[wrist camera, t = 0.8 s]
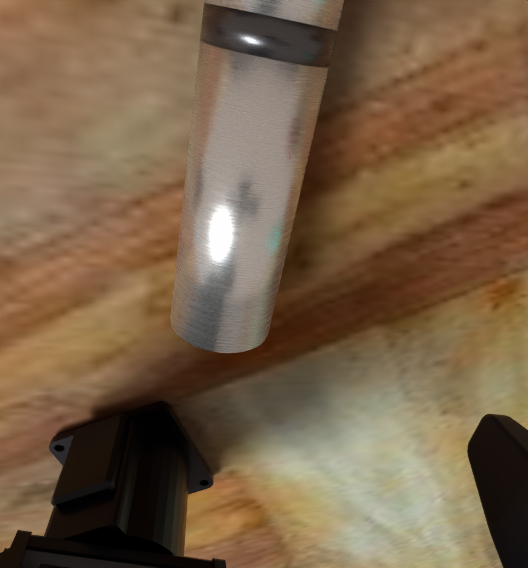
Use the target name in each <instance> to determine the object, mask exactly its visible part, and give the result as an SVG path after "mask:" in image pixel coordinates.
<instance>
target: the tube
mask: <svg viewBox="0 0 528 568" xmlns="http://www.w3.org/2000/svg"><path fill="white" fill-rule="evenodd" d="M343 3H344V0H204V10H203V19H202V28H201V37H200V47H199V56H198V65H197V75H196V84H195V93H194V103H193V112H192V121H191V131H190V140H189V149H188V159H187V168H186V177H185V187H184V196H183V205H182V214H181V224H180V233H179V242H178V252H177V261H176V270H175V280H174V289H173V298H172V308H171V317H170V322H171V326H172V328H173V330H174V331H175V332H176V334H177V335H178V336H179V337H181V338H182V339H183V340H185V341H186V342H188V343H189V344H191V345H193V346H196V347H198V348H201V349H204V350H208V351H213V352H220V353H237V352H244V351H248V350H251V349H253V348H255V347H258V346H259V345H260V344H262V343H263V342H264V341H265V339H266V338H267V336H268V333H269V328H270V324H271V320H272V315H273V311H274V306H275V302H276V298H277V293H278V289H279V284H280V280H281V276H282V271H283V267H284V262H285V258H286V254H287V249H288V245H289V241H290V236H291V232H292V227H293V223H294V219H295V214H296V210H297V205H298V201H299V197H300V192H301V188H302V183H303V179H304V175H305V170H306V166H307V161H308V157H309V153H310V148H311V144H312V140H313V135H314V131H315V126H316V122H317V118H318V113H319V109H320V104H321V100H322V96H323V91H324V87H325V82H326V78H327V74H328V69H329V65H330V60H331V56H332V52H333V47H334V43H335V38H336V34H337V30H338V25H339V21H340V17H341V12H342V8H343Z"/></svg>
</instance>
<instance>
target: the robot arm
mask: <svg viewBox="0 0 528 568" xmlns="http://www.w3.org/2000/svg"><path fill="white" fill-rule="evenodd" d="M158 411H161V412H164V413H158ZM61 445H62V446H61ZM49 449H50V451H51V452H52V454H53V455H54V456H55V457H56V458H57V459H58V460H59V462H60V463H61V464H62V465H63V468H62V471H61V474H60V476H59V479H58V482H57V485H56V488H55V491H54V494H53V497H52V500H51V504H52V505H53V506H54V508H53V511H52V514H51V517H50V520H49V523H48V526H47V529H46V532H45V535H44V536H38V535H31V534H32V532H28V531H21V530H18V531H17V533H16V536H15V538H14V540H13V542H12V545H11V547H10V548H8V549H7V548H5V549H4V551H3V552H2V553H0V568H226V562H225V560H222V559H215V558H213V559H212V560H206V559H199V558H192V557H185V556H184V545H185V530H186V514H187V499H188V494H191V493H194V492H198V491H201V490H204V489H207V488H210V487H211V486H212V485H213V474H212V472H211V471H210V469H209V467H208V466H207V464H206V463H205V461H204V459H203V458H202V456H201V455H200V453H199V452H198V450H197V448H196V447H195V445H194V444H193V442H192V440H191V439H190V437H189V436H188V434H187V432H186V431H185V429H184V428H183V426H182V424H181V423H180V421H179V420H178V418H177V416H176V415H175V413H174V412H173V410H172V409H171V407H170V406H169V405H168V404H167V403H165V402H156V403H153V404H150V405H147V406H144V407H141V408H138V409H135V410H132V411H129V412H126V413H123V414H120V415H117V416H114V417H111V418H108V419H105V420H102V421H99V422H96V423H93V424H90V425H87V426H84V427H81V428H78V429H75V430H72V431H69V432H66V433H63V434H60V435H57V436H55V437H53V438H52V440H51V442H50V445H49ZM467 451H468V458H469V461H470V465H471V468H472V472H473V475H474V479H475V482H476V486H477V489H478V493H479V496H480V500H481V503H482V507H483V510H484V514H485V518H486V521H487V524H488V527H489V531H490V534H491V537H492V539H493V542H494V545H495V548H496V550H497V553H498V555H499V558H500V560H501V563H502V566H503V568H528V430H527V429H526V428H524V427H523V426H522V425H520V424H519V423H517V422H516V421H515V420H513V419H512V418H511V417H509V416H506V415H497V414H487V415H485V416H484V417H483V418H482V419H481V421H480V423H479V425H478V426H477V428H476V430H475V432H474V434H473V435H472V437H471V439H470V441H469V443H468V450H467Z"/></svg>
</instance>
